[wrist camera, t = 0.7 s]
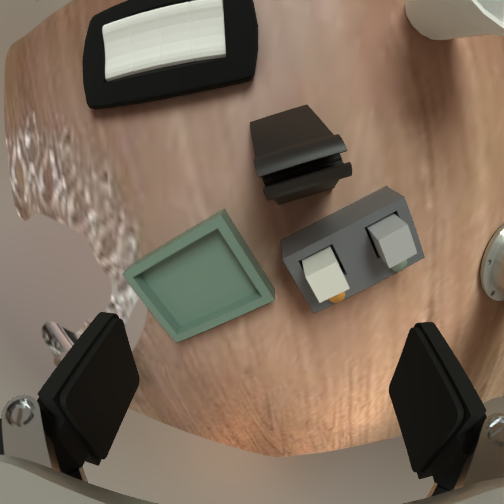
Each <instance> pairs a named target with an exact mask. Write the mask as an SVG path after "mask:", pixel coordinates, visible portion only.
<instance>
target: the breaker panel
mask: <svg viewBox="0 0 504 504" xmlns="http://www.w3.org/2000/svg"><path fill="white" fill-rule="evenodd" d="M393 213H394V214H395V215H396V216H398V217H399V218H400V219H401V220H403V221H404V222H405V223H406V224H408V227H409V229H410V232H411V235H412V238H413V241H414V244H415V247H416V251H417V254H415V255H413V256H411V257H410V258H408V259H406V260H404V261H402V262H400V263H399V264H397V265H395V266H393V267H391V268H389V267H388V266H387V265H386V263H385V262H384V261H383V259H382V258H381V257H380V255H379V254H378V253H377V250H376V248H375V245H374V243H373V240H372V238H371V236H370V233H369V231H368V229H367V227H368V226H370V225H372V224H374V223H376V222H378V221H380V220H382V219H383V218H385V217H387V216H389V215H391V214H393ZM329 246H330V247H331V249H332V251H333V253H334V255H335V257H336V259H337V261H338V264H339V266H340V268H341V270H342V272H343V274H344V276H345V279H346V281H347V283H348V286H349V288H350V289H348V290H346V291H344V292H342V293H340V294H338V295H335V296H333V297H331V298H329V299H327V300H325V301H323V302H321V303H319V301H318V299H317V297H316V295H315V294H314V292H313V290H312V288H311V286H310V285H309V283H308V281H307V279H306V277H305V273H304V268H303V263H302V260H303V259H305V258H307V257H309V256H311V255H313V254H315V253H317V252H319V251H321V250H323V249H325V248H327V247H329ZM281 248H282V260H283V261H284V263H285V265H286V266H287V268H288V270H289V272H290V273H291V275H292V277H293V278H294V280H295V282H296V284H297V285H298V287H299V289H300V291H301V292H302V294H303V296H304V297H305V299H306V301H307V303H308V304H309V306H310V308H311V310H312V311H313V313H316V312H318V311H320V310H323V309H325V308H327V307H329V306H331V305H333V304H335V303H338V302H341V301H342V300H344V299H346V298H348V297H350V296H352V295H354V294H356V293H358V292H360V291H362V290H364V289H366V288H368V287H370V286H372V285H374V284H376V283H378V282H380V281H382V280H384V279H386V278H388V277H389V276H391V275H393V274H395V273H397V272H399V271H402V270H403V269H404V268H406V267H408V266H410V265H412V264H414V263H415V262H417V261H419V260H421V259H423V258H424V254H423V250H422V247H421V244H420V241H419V238H418V235H417V232H416V229H415V226H414V223H413V220H412V217H411V214H410V211H409V208H408V206H407V203H406V200H405V198H404V196H402V195H400V194H399V193H397V192H395V191H394V190H392V189H390V188H388V187H387V186H385V187H384V188H382V189H380V190H378V191H376V192H374V193H372V194H370V195H368V196H366V197H364V198H362V199H360V200H358V201H356V202H354V203H353V204H351V205H349V206H347V207H345V208H343V209H341V210H339V211H337V212H335V213H333V214H331V215H329V216H327V217H325V218H323V219H321V220H320V221H318V222H316V223H314V224H312V225H310V226H308V227H306V228H304V229H302V230H300V231H298V232H296V233H294V234H292V235H290V236H288V237H286V238H284V239H283V240H281Z"/></svg>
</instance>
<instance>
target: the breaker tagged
mask: <svg viewBox="0 0 504 504" xmlns="http://www.w3.org/2000/svg"><path fill="white" fill-rule="evenodd" d="M302 263H303V268H304V273H305V277H306V279H307V281H308V283H309V285H310V286H311V288H312V290H313V292H314V294H315V295H316V297H317V299H318V301H319V303H321V302H323V301H325V300H327V299H329V298H331V297H333V296H335V295H338V294H340V293H342V292H344V291H346V290H348V289H350V288H349V286H348V283H347V281H346V279H345V276H344V274H343V272H342V270H341V268H340V266H339V264H338V261H337V259H336V257H335V255H334V253H333V251H332V249H331V247H330V246H329V247H327V248H325V249H323V250H321V251H319V252H317V253H315V254H313V255H311V256H309V257H307V258H305V259H303V260H302Z"/></svg>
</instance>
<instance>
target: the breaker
mask: <svg viewBox="0 0 504 504" xmlns="http://www.w3.org/2000/svg"><path fill="white" fill-rule="evenodd" d="M367 229H368V231H369V233H370V236H371V238H372V240H373V243H374V245H375V248H376V250H377V253H378V254H379V255H380V257H381V258H382V259H383V261H384V262H385V263H386V265H387V266H388V267H389V268H391V267H393V266H395V265H397V264H399V263H400V262H402V261H404V260H406V259H408V258H410V257H411V256H413V255H415V254H417V251H416V247H415V244H414V241H413V238H412V235H411V232H410V229H409V227H408V224H406V223H405V222H404V221H403V220H401V219H400V218H399V217H398V216H396V215H395V214H394V213H393V214H391V215H389V216H387V217H385V218H383V219H382V220H380V221H378V222H376V223H374V224H372V225H370V226H368V227H367Z"/></svg>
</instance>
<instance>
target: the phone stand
mask: <svg viewBox="0 0 504 504" xmlns="http://www.w3.org/2000/svg"><path fill="white" fill-rule="evenodd" d="M250 126H251V132H252V138H253V144H254V151H255V157H256V159H254V164H255V168H256V171H257V175H258V177H262V178H263V181H264V184H265V188H263V192H264V194H265V196H266V198H267V200H268V201H269V200H272V199H274V200H275V201H276V202H277V203H278V204H279V205H280V204H283V203H286V202H289V201H293V200H296V199H299V198H302V197H306V196H309V195H312V194H316V193H319V192H322V191H326V190H329V189H332V188H334V187H335V185H336V184H337V182H338V181H339V179H342V178H345V177H349V176H351V175H352V166H351V163H350V162H348V163H345V164H344V163H343V162H342V158H341V155H340V154H339V153H342V152H345V151H347V148H346V146H345V144H344V142H343V140H342V138H341V137H340V135H338V134H337V135H333V134H332V132H331V131H330V130H329V129H328V128H327V127H326V125H325V124H324V123H323V122H322V121H321V120H320V119H319V117H318V116H317V115H316V114H315V113H314V112H313V111H312V110H311V108H310V107H309V106H308V105H304V106H301V107H297V108H294V109H290V110H287V111H284V112H280V113H277V114H274V115H271V116H268V117H265V118H262V119H259V120H256V121H253V122H250Z"/></svg>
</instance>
